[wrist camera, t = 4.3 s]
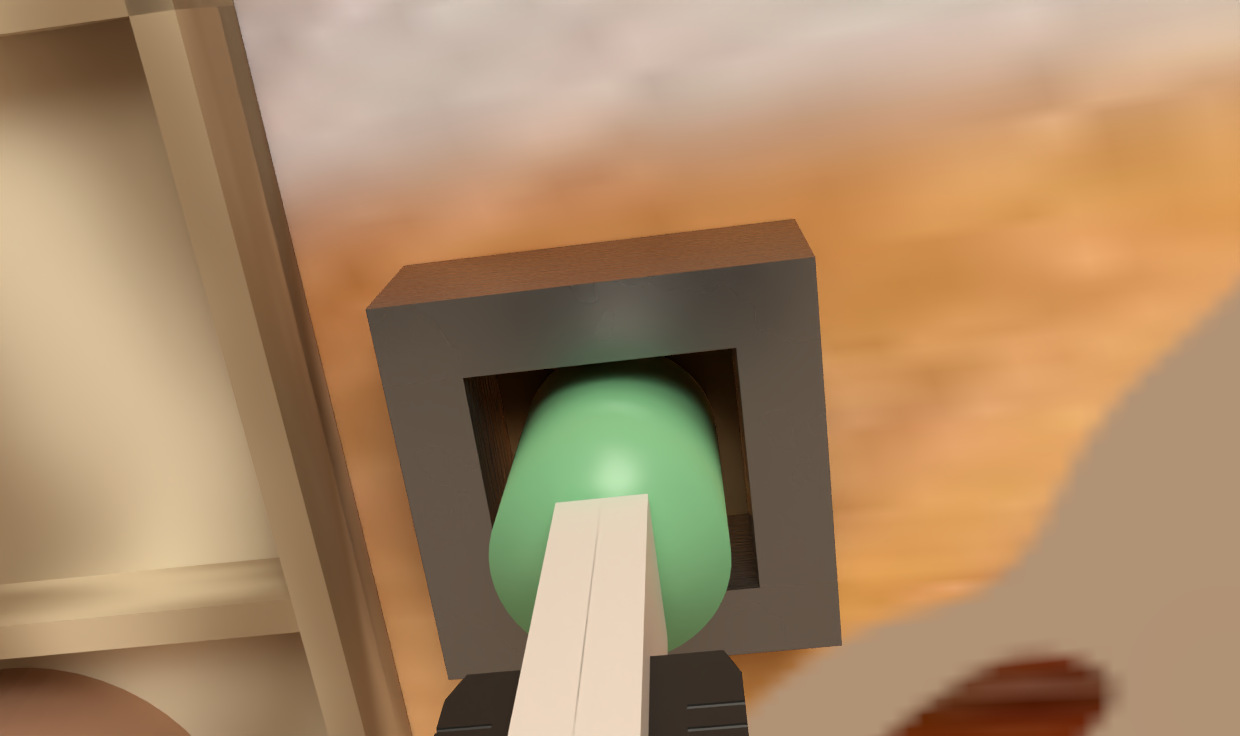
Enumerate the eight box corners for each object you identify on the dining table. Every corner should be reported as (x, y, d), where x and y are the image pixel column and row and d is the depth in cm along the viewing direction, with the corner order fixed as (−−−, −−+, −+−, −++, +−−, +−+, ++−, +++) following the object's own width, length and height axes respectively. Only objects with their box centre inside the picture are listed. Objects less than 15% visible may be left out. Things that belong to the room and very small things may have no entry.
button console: (473, 598, 24) (448, 679, 22) (404, 265, 22) (365, 309, 19) (820, 566, 24) (841, 645, 21) (794, 219, 21) (814, 256, 18)
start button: (541, 530, 23) (510, 673, 18) (510, 358, 22) (468, 465, 17) (725, 512, 23) (741, 653, 18) (706, 336, 21) (718, 439, 17)
